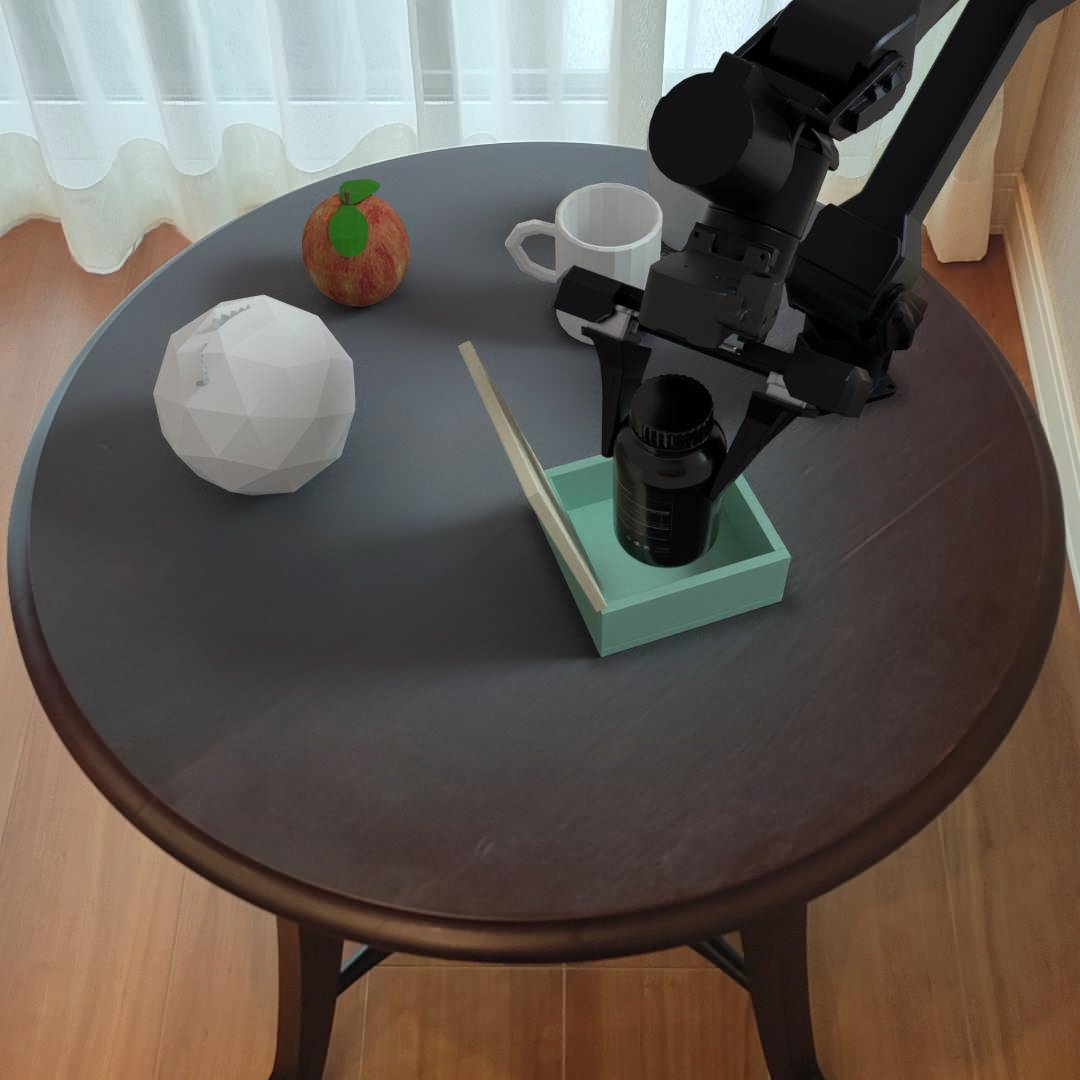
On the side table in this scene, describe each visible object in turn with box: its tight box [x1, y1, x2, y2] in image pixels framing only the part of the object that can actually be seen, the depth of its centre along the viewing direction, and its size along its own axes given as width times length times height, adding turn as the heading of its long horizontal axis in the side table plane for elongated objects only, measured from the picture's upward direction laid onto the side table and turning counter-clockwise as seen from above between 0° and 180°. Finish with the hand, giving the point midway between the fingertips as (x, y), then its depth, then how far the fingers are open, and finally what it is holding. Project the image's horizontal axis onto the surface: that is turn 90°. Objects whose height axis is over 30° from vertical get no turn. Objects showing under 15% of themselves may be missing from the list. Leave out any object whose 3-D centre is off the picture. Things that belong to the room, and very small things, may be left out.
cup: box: [645, 122, 709, 252], centre depth 109 cm, size 8×8×10 cm
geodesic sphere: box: [152, 294, 356, 496], centre depth 92 cm, size 15×14×14 cm
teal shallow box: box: [537, 449, 792, 658], centre depth 89 cm, size 13×13×5 cm
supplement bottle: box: [613, 373, 728, 568], centre depth 80 cm, size 7×7×12 cm
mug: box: [504, 182, 663, 346], centre depth 103 cm, size 8×12×10 cm
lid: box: [458, 340, 607, 612], centre depth 80 cm, size 14×13×1 cm
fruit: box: [301, 178, 411, 307], centre depth 105 cm, size 9×10×10 cm
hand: (658, 478), depth 79 cm, fingers closed on supplement bottle, 7 cm apart
